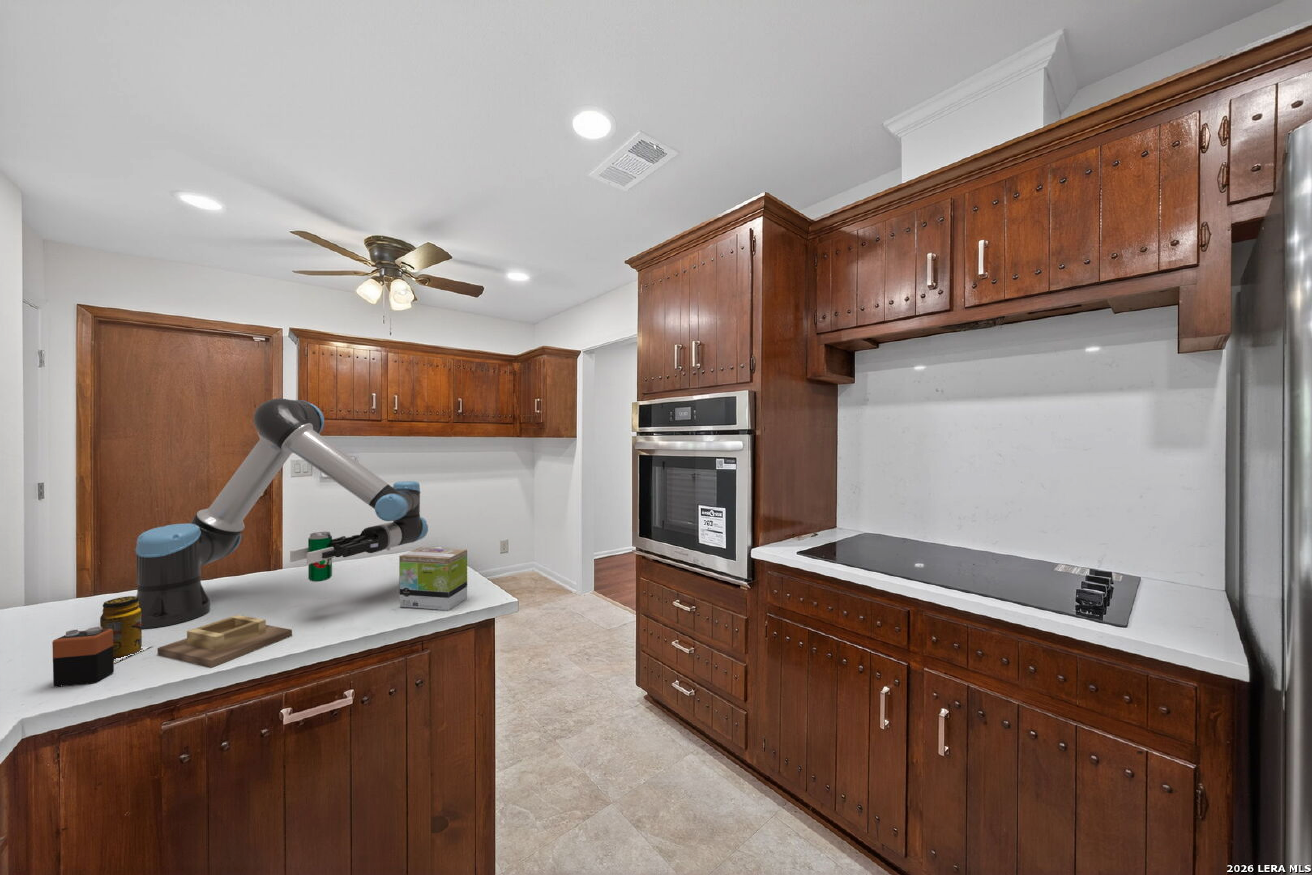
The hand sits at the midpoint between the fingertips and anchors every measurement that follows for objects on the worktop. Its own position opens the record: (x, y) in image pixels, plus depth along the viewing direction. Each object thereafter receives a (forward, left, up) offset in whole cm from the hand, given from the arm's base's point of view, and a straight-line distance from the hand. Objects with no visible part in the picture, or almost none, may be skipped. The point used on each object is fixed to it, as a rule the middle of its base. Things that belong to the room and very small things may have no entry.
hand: (299, 557), depth 119 cm
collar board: (-5, -13, -17) cm, 22 cm away
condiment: (-22, -24, -18) cm, 37 cm away
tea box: (+20, +23, -18) cm, 35 cm away
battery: (-14, -32, -17) cm, 39 cm away
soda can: (0, +5, -7) cm, 9 cm away
